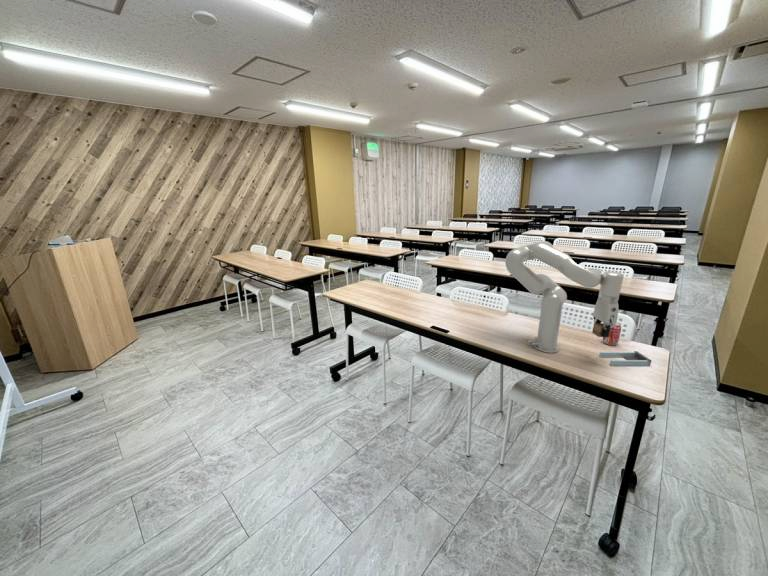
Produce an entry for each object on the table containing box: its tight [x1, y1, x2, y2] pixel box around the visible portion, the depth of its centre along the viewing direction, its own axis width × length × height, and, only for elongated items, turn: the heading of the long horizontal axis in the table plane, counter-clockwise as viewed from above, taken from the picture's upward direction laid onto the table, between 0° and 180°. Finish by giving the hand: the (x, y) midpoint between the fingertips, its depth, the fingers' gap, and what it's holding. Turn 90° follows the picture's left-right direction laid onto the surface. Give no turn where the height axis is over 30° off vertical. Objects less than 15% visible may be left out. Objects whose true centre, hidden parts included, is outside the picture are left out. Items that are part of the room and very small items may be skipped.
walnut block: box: [591, 322, 611, 338], centre depth 143 cm, size 5×5×5 cm
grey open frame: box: [598, 350, 652, 367], centre depth 146 cm, size 18×9×3 cm, turn 88°
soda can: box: [602, 321, 622, 346], centre depth 163 cm, size 7×7×12 cm
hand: (600, 333), depth 143 cm, fingers closed on walnut block, 5 cm apart
